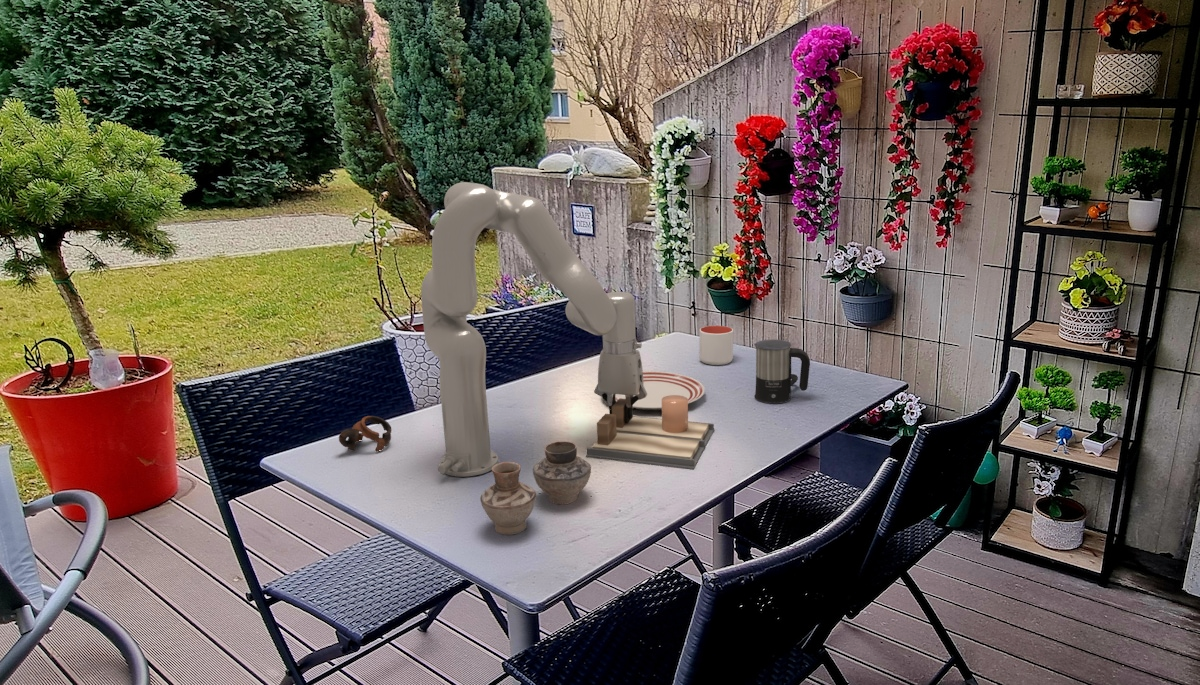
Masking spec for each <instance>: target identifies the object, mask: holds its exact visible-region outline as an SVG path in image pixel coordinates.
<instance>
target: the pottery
mask: <svg viewBox="0 0 1200 685" xmlns="http://www.w3.org/2000/svg"><path fill="white" fill-rule="evenodd" d="M544 452H545V457H544V458H543V459H541V460H539V461H537V463H536V464H535V465H534V466H533V468H532V473H533V478H534V480H535V482H536V484H537V486H538V487H539V488H540V489H541V491H542V492H544V493H545V494H546V495H548V499H549V501H550V502H551V503H553V504H556V505H568V504H572V503H574V502H575V501H577V499H578V498H579V494H580V492H582V490H583V489H584V488H585V487H586V486H587V484H588V482H589V480H590V478H591V473H592V466H591V464H590V462H588V461H587V460H585V459H583V458H582V457H580V456H577V454H578V448H577V444H576V443H575V442H572V441H567V440H562V441H561V440H560V441H559V440H557V441H553V442H550V443H548V444H547V445H546V446H544ZM521 467H522V466H521V465H520V464H519V463H517V462H513V461H502V462H498V464H496V465H494V466H493V467H492V470H491V471H492V475H493V477H494V482H495V483H494V484H492V485H491V486H489V487H488V488H486V489H485V490H484V491H483V492H482V493H481V495H480V503H481V506H482V508H483V510H484V512H485V514H486V515H487V517H488V518H489V520H490V521H491V522H493V523H494V529H495V532H497V533H498V534H500V535H508V536H510V535H516V533H517V534H520V533H521V531H522V532H523V531H525V530H526V529H527V526H528V525H527V519H528V518H529V516H530V515H531V513H532V511H533V509H534V506H535V502H536V498H537V493H536V491H535V489H534V488H532V487H531V486H529V485H528V484H525V483H523V482H521V481H520V480H519V479H520V473H521Z"/></svg>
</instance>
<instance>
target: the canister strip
mask: <svg viewBox="0 0 1200 685" xmlns="http://www.w3.org/2000/svg"><path fill="white" fill-rule="evenodd" d="M625 406H626V399H622V398H619V400H618V401H617V402H616V403H615V404H614V405H613V406H612V414H615V415H616V431H617V432H626V433H636V434H646V435H656V436H665V437H675V438H685V439H695V440H703V438H704V436H705V435H706V433H707V431H708V429H709V424H704V423H705V422H701V423H694V422H695V421H690V422H688V430H687V431H685V432H681V433H669V432H666V431H664V430H662V418H658V419H652V418H653V417H648V418H641V417H642V416H637V417H632V419H631V420H630V421H629V422H628V423H625V422H624V408H625Z"/></svg>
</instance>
